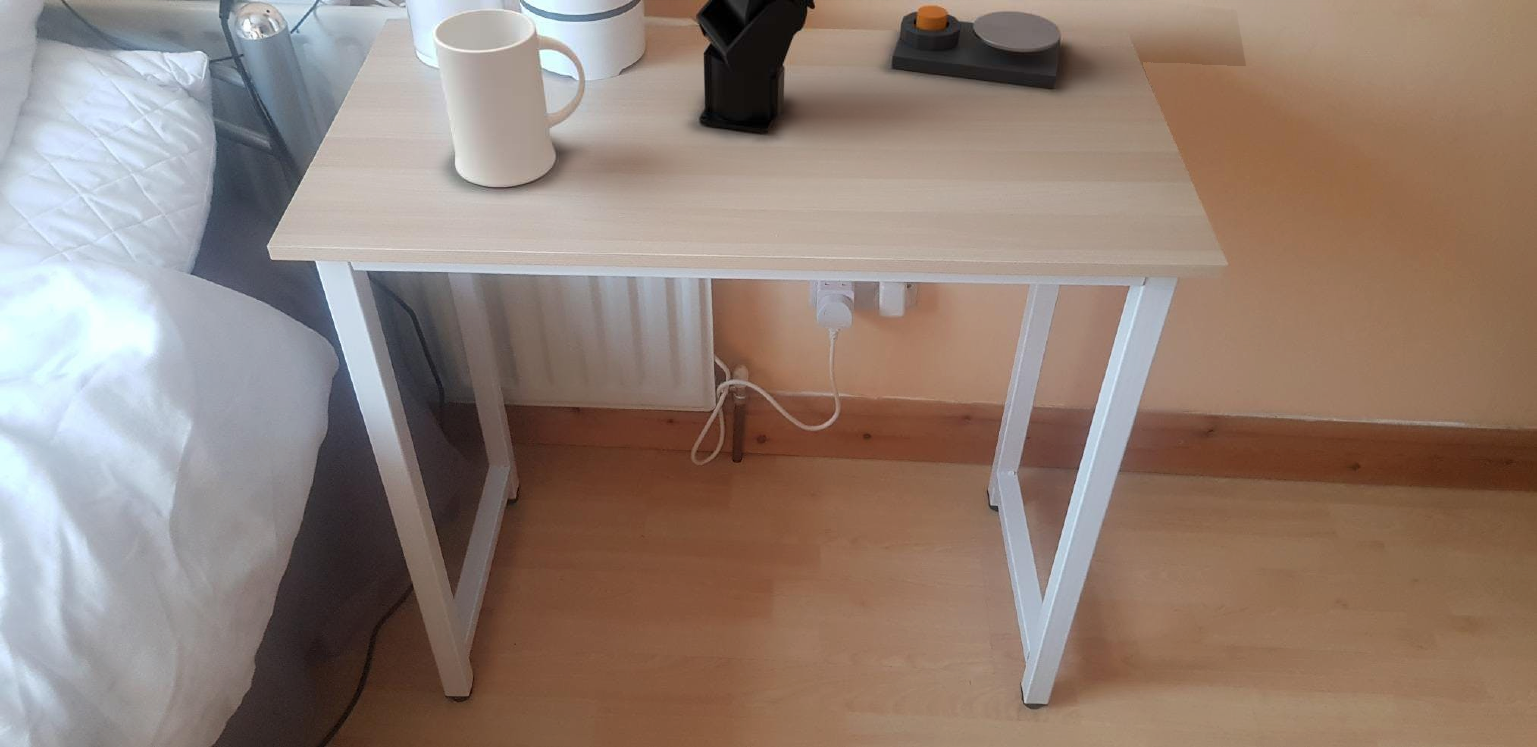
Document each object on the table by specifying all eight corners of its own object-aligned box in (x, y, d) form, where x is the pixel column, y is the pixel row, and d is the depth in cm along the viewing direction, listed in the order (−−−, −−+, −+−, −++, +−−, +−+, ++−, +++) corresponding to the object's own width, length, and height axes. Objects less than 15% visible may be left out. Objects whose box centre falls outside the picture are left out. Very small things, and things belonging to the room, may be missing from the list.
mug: (587, 128, 98) (573, -1, 90) (599, 177, 92) (586, 44, 84) (453, 142, 96) (428, 11, 88) (457, 193, 90) (429, 58, 82)
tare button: (914, 30, 109) (915, 16, 108) (918, 18, 111) (919, 3, 110) (943, 34, 108) (945, 19, 107) (947, 22, 110) (949, 7, 109)
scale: (891, 68, 108) (894, 40, 106) (906, 27, 116) (909, 0, 114) (1053, 89, 106) (1059, 60, 104) (1058, 45, 113) (1064, 18, 111)
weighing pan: (968, 46, 106) (968, 42, 105) (977, 10, 112) (977, 7, 112) (1057, 57, 104) (1058, 53, 104) (1061, 20, 110) (1062, 16, 110)
